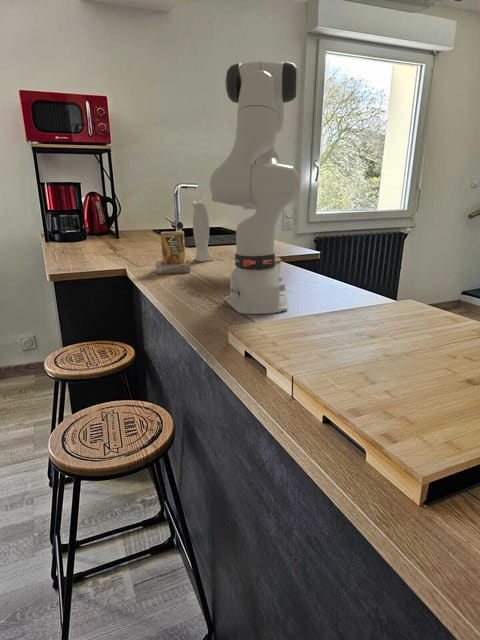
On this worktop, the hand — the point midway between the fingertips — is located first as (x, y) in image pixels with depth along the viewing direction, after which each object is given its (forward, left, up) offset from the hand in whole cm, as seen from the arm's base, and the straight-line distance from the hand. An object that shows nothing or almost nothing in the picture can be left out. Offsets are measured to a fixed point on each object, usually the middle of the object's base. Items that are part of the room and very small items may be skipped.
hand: (212, 198), depth 165 cm
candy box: (0, +17, -28) cm, 32 cm away
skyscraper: (+21, +4, -28) cm, 35 cm away
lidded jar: (-23, -17, -28) cm, 40 cm away
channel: (0, +17, -28) cm, 33 cm away
